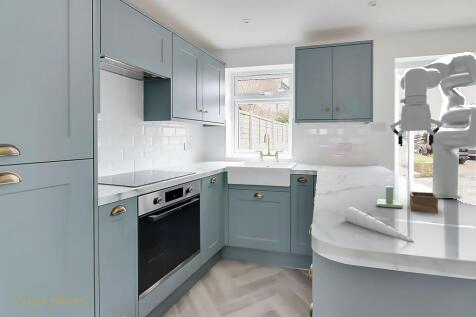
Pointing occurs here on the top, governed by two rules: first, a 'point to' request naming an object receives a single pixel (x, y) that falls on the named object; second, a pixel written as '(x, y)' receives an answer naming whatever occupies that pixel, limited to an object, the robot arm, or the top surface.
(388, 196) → the mint green stepped block
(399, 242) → the top surface
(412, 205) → the box
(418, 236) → the top surface
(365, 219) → the unicorn horn
